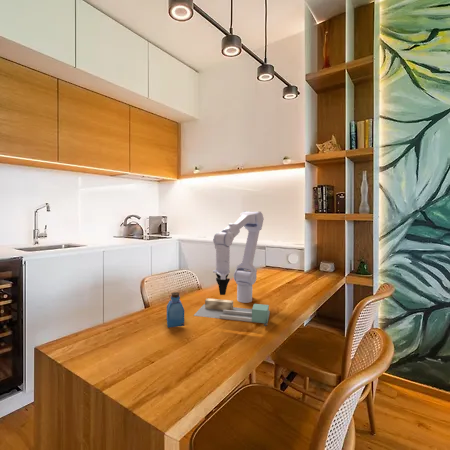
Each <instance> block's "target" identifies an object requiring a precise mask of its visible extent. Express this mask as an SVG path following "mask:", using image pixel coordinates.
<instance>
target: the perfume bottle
mask: <svg viewBox="0 0 450 450" xmlns="http://www.w3.org/2000/svg"><path fill="white" fill-rule="evenodd" d="M170 294H171V296H170V300H169V301H168V303H167V304H166V321H167V322H166V324H167V328H176V327H177V328H178V327H185V308H184V306H183V303H182V301H181V300H180V299H181V296H180V292H179V291H178V292H177V291H174V292H171V293H170Z"/></svg>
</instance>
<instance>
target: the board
mask: <svg viewBox="0 0 450 450" xmlns="http://www.w3.org/2000/svg"><path fill="white" fill-rule="evenodd" d="M269 309H270V305H269V304H260V303H254V304H253V306H252V308H244V307H234V306H233V309H232V310H219V309H209V308H205V303H204V304H203V305H202V306H201V307H199V309H198V310H197V311H196V312H195V313H194V315H193V317H204V318H210V319H211V318H212V319H219V320H228V321H229V320H230V321H237V322H238V321H239V322H248V323H257V324H263V327H267V326H268V322H269V319H270V314H271V311H270V310H269Z"/></svg>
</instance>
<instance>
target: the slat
mask: <svg viewBox="0 0 450 450" xmlns="http://www.w3.org/2000/svg"><path fill="white" fill-rule="evenodd" d="M204 304H205V308H209V309H219V310H232V309H233V307H234V300H229V299H219V298H218V299H217V298H207V297H206V298H205V301H204Z"/></svg>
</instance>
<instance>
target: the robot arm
mask: <svg viewBox="0 0 450 450" xmlns="http://www.w3.org/2000/svg"><path fill="white" fill-rule="evenodd" d="M239 215H240V216H239V218H238V219H237V220H236V221H235V222H234V223H233V222H229V223H228V225H227V226H226V227H225V228H223V230H222V231H217V232H216V233H215V234H214V236H213V240H212V242H213V244H214V248H215V269H212V273H214V274H215V275H216V277H215V280H216V283H217V285H218V290H219V295H220V296H225V295H226V294H227V288H228V284H229V283H230V281H231V280H230V278H228V276H229V274H230V273H231V271H230V259H231V258H230V256H231V255H230V254H231V253H230V250H231V249H230V248H231V247H230V246H232V244H233V241H234V239H235V237H236V236H238V235H239V233H240V230H241V229H242V228H244V229H245V230H247V231H248V233H247V238H246V243H245V247H244V251H243V252H244V253H243V255H242V261H241V263H239V264H237V265H236V267H235V271H234V272H233V280H234V282H235V284H236V285H237V286H236V291H237V292H236V300H237V302H239V303H245V304H246V303H252V301H253V285H254V284H256V282H257V278H258V277H257V271H258V270H257V268H256V267H255V266H254V258H255V254H256V250H257V244H258V239H259V234H260V231H261V230H262V228H263V225H264V224H263V223H264V214H263V213H262V211H251V210H250V211H248V210H243V211H242V212H241V213H239Z"/></svg>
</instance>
